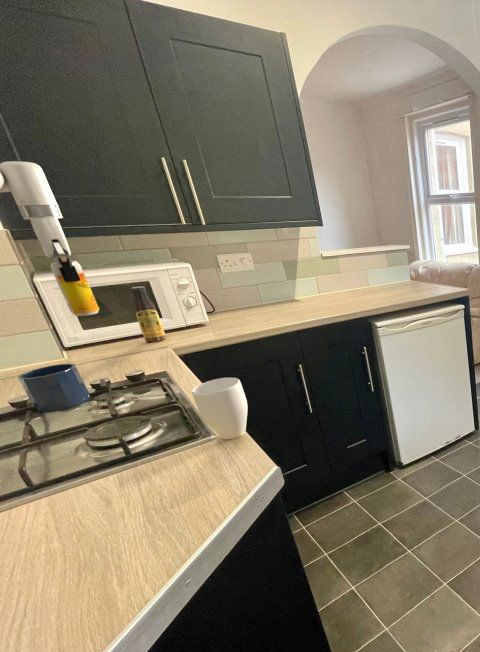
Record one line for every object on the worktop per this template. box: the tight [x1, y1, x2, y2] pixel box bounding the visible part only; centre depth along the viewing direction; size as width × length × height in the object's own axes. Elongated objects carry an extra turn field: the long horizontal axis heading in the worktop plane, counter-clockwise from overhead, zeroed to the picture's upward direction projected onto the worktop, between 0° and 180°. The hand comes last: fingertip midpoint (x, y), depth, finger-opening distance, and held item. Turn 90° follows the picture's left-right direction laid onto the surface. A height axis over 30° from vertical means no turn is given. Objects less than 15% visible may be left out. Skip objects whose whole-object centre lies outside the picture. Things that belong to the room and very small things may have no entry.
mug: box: [191, 377, 249, 440], centre depth 87 cm, size 12×8×11 cm
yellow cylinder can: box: [50, 260, 100, 317], centre depth 121 cm, size 6×6×15 cm
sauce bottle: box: [130, 286, 166, 343], centre depth 154 cm, size 6×6×20 cm
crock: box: [17, 363, 92, 413], centre depth 106 cm, size 10×10×9 cm
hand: (71, 279), depth 120 cm, fingers closed on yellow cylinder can, 6 cm apart
